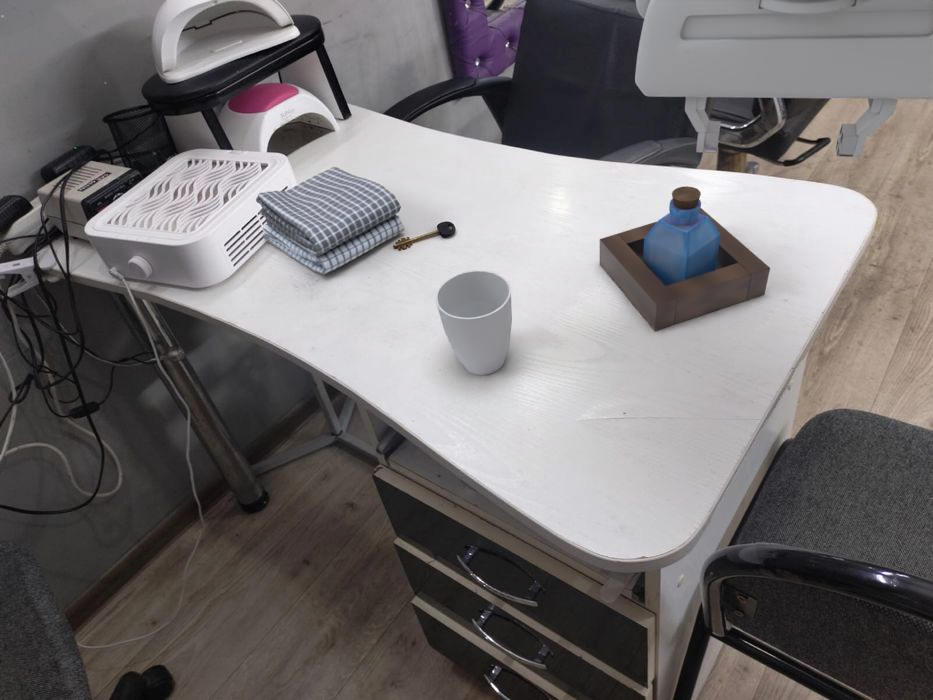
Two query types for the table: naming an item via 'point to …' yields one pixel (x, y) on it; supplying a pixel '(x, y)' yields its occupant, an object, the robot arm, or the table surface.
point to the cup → (477, 318)
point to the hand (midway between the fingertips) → (775, 151)
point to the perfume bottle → (682, 240)
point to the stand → (690, 298)
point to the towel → (330, 219)
